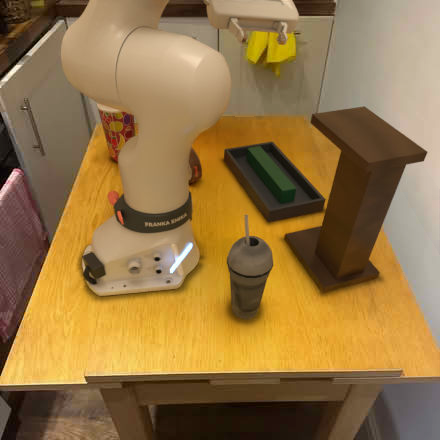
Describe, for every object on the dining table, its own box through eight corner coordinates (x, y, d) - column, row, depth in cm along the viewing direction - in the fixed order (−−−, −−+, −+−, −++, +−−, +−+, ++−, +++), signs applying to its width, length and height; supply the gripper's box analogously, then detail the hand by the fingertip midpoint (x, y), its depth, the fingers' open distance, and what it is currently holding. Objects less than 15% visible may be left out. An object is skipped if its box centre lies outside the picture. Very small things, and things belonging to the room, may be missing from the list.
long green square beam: (280, 204, 92) (282, 190, 89) (246, 160, 105) (247, 147, 102) (294, 201, 93) (296, 188, 90) (258, 158, 105) (260, 145, 103)
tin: (203, 186, 97) (203, 153, 91) (192, 190, 96) (191, 157, 90) (172, 158, 106) (169, 126, 99) (161, 161, 104) (158, 130, 98)
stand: (322, 293, 75) (362, 164, 55) (284, 239, 85) (306, 114, 65) (377, 278, 78) (433, 150, 58) (334, 228, 88) (369, 105, 68)
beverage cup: (262, 329, 69) (277, 236, 54) (220, 321, 69) (224, 228, 55) (268, 297, 73) (283, 205, 59) (228, 291, 74) (233, 198, 60)
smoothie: (108, 149, 108) (93, 68, 93) (140, 148, 109) (130, 67, 94) (106, 166, 102) (89, 82, 88) (139, 165, 103) (128, 81, 88)
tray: (268, 222, 88) (269, 210, 86) (223, 160, 106) (224, 149, 103) (323, 210, 92) (325, 199, 89) (271, 152, 109) (272, 141, 107)
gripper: (203, -28, 82) (222, 23, 78) (290, -18, 89) (311, 29, 85) (196, 3, 88) (213, 52, 84) (278, 10, 95) (298, 56, 91)
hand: (263, 40), depth 85 cm, fingers open, 8 cm apart
